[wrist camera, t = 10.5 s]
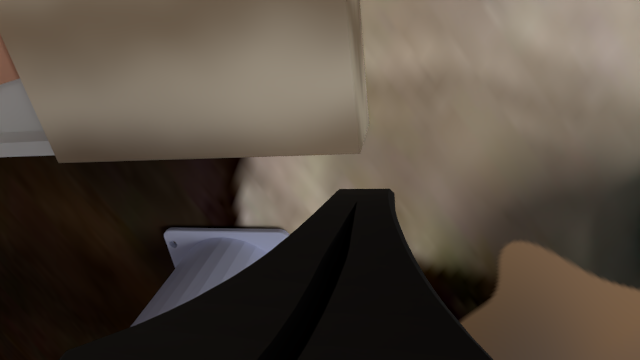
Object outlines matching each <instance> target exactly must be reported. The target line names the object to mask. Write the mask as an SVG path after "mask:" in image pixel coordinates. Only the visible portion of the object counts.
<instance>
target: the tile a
mask: <svg viewBox="0 0 640 360" xmlns="http://www.w3.org/2000/svg"><path fill="white" fill-rule="evenodd" d="M16 79H20V77H19V74H18V72H17V70H16V68H15V66H14V63H13V61H12V59H11V57H10V55H9V52H8V50H7V48H6V46H5V43H4V41H3V39H2V37H1V35H0V85H1V84H4V83H7V82H10V81H13V80H16Z"/></svg>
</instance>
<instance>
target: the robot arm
mask: <svg viewBox="0 0 640 360" xmlns="http://www.w3.org/2000/svg"><path fill="white" fill-rule="evenodd" d="M164 238H165V241H166V244H167V247H168V250H169V252H170V255H171V258H172V261H173V264H174V266H175V270H174V271H173V272H172V274H171V275H170V276H169V277H168V279H167V280H166V281H165V283H164V284H163V285H162V286H161V288H160V289H159V290H158V292H157V293H156V294H155V296H154V297H153V298H152V299H151V301H150V302H149V303H148V305H147V306H146V307H145V308H144V310H143V311H142V312H141V314H140V315H139V316H138V317H137V319H136V320H135V321H134V323H133V324H132V325H131V327H130V328H127V329H125V330H122V331H119V332H117V333H114V334H111V335H108V336H106V337H103V338H100V339H98V340H95V341H92V342H90V343H87V344H84V345H82V346H79V347H76V348H73V349H70V350H67V351H66V352H65V353H64V355H63V356H62V357H61V358H60V359H59V360H493V359H492V358H491V357H490V356H489V355H488V354H487V353H486V351H484V349H483V348H482V347H481V346H480V345H479V344H478V343H477V342H476V341H475V340H474V339H473V338H472V337H471V336H470V334H469V333H468V332H467V331H466V329H465V328H464V327H463V326H462V325H461V324H460V322H459V321H458V320H457V319H456V318H455V316H454V315H453V314H452V313H451V312H450V311H449V309H448V308H447V307H446V306H445V304H444V303H443V302H442V300H441V299H440V297H439V296H438V295H437V293H436V292H435V290H434V289H433V288H432V286H431V284H430V283H429V281H428V280H427V278H426V277H425V275H424V274H423V272H422V270H421V269H420V267H419V265H418V263H417V262H416V260H415V258H414V256H413V254H412V252H411V250H410V248H409V246H408V244H407V242H406V240H405V237H404V235H403V232H402V230H401V227H400V225H399V222H398V219H397V216H396V212H395V197H394V193H393V192H392V191H391V190H390V189H339V190H338V191H337V192H336V193H335V194H334V195H333V196H332V197H331V198H330V199H329V200H328V201H327V202H325V203H324V204H323V205H322V206H321V207H320V208H319V209H318V210H317V211H316V212H315V213H314V214H313V215H312V216H311V217H310V218H309V219H307V220H306V221H305V222H304V223H303V224H302V225H301V226H300V227H299V228H298V229H296V230H295V231H294V232H293V233H292V234H290V235H289V233H288V232H287V231H285V230H283V229H240V228H168V229H167V230H166V231H165V232H164ZM173 241H174V242H176V243H174V242H173Z"/></svg>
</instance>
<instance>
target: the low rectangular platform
mask: <svg viewBox="0 0 640 360" xmlns="http://www.w3.org/2000/svg"><path fill="white" fill-rule="evenodd" d="M0 35H1V37H2V39H3V41H4V43H5V46H6V48H7V50H8V52H9V55H10V57H11V59H12V61H13V63H14V66H15V68H16V70H17V72H18V74H19V77H20V79H21V81H22V83H23V86H24V88H25V90H26V92H27V94H28V97H29V99H30V101H31V103H32V106H33V108H34V110H35V112H36V114H37V117H38V119H39V121H40V123H41V126H42V128H43V130H44V132H45V134H46V137H47V139H48V141H49V143H50V145H51V148H52V150H53V152H54V154H55V157H56V159H57V161H58V163H74V162H106V161H138V160H171V159H203V158H235V157H267V156H299V155H332V154H360V152H361V149H362V145H363V142H364V139H365V136H366V132H367V129H368V126H369V113H368V100H367V88H366V75H365V63H364V50H363V38H362V25H361V12H360V0H0Z"/></svg>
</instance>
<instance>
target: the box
mask: <svg viewBox="0 0 640 360" xmlns="http://www.w3.org/2000/svg"><path fill="white" fill-rule="evenodd" d="M47 155H55V154H54V152H53V150H52V148H51V145H50V143H49V141H48V139H47V137H46V134H45V132H44V130H43V128H42V126H41V123H40V121H39V119H38V117H37V114H36V112H35V110H34V108H33V106H32V103H31V101H30V99H29V97H28V94H27V92H26V90H25V88H24V86H23V83H22V81H21V79H16V80H13V81H10V82H7V83H4V84H1V85H0V157H19V156H47Z"/></svg>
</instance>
